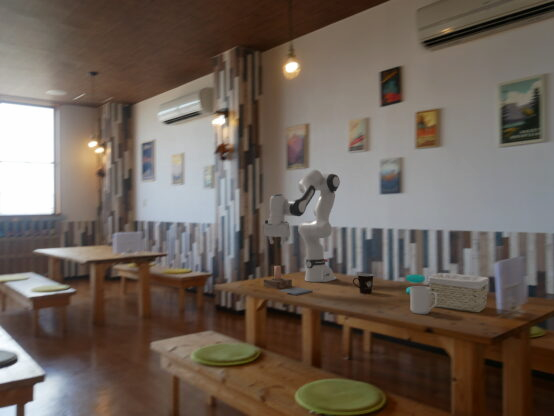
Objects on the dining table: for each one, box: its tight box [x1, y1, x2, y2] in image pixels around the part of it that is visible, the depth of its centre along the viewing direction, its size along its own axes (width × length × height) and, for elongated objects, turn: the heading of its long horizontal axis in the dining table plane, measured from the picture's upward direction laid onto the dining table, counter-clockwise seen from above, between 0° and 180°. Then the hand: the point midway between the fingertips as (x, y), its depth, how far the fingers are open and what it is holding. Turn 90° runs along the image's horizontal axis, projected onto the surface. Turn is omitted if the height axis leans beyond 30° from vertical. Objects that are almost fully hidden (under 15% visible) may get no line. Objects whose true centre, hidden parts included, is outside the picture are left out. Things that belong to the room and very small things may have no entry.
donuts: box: [405, 273, 426, 295], centre depth 247 cm, size 10×10×10 cm
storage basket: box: [427, 272, 490, 313], centre depth 213 cm, size 24×16×15 cm
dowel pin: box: [273, 265, 282, 281], centre depth 271 cm, size 4×4×12 cm
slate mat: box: [277, 286, 313, 297], centre depth 257 cm, size 14×14×1 cm
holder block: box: [263, 277, 293, 290], centre depth 271 cm, size 12×12×5 cm
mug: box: [409, 285, 437, 315], centre depth 204 cm, size 12×9×11 cm
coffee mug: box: [352, 273, 374, 295], centre depth 252 cm, size 12×9×10 cm
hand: (277, 244), depth 271 cm, fingers open, 8 cm apart
